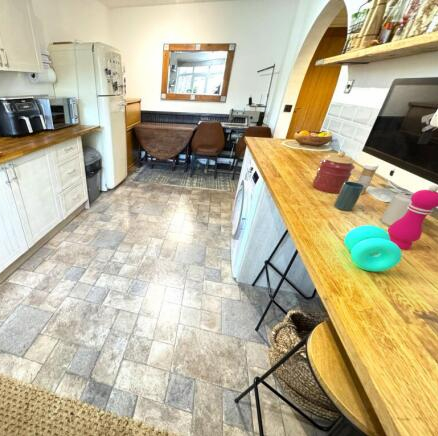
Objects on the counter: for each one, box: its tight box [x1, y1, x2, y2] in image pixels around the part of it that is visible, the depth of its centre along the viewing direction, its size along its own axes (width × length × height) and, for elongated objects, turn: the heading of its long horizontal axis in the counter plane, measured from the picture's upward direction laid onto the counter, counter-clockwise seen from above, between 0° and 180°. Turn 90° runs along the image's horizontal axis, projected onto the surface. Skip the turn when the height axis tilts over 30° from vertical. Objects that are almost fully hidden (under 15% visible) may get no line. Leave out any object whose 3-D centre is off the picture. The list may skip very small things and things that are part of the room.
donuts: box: [343, 224, 403, 273], centre depth 66 cm, size 10×10×10 cm
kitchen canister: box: [311, 151, 356, 194], centre depth 111 cm, size 13×13×18 cm
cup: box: [333, 180, 365, 212], centre depth 95 cm, size 6×6×10 cm
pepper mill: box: [387, 185, 438, 251], centre depth 71 cm, size 7×7×20 cm
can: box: [380, 190, 415, 228], centre depth 84 cm, size 8×8×12 cm
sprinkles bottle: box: [356, 162, 379, 195], centre depth 108 cm, size 5×5×13 cm
